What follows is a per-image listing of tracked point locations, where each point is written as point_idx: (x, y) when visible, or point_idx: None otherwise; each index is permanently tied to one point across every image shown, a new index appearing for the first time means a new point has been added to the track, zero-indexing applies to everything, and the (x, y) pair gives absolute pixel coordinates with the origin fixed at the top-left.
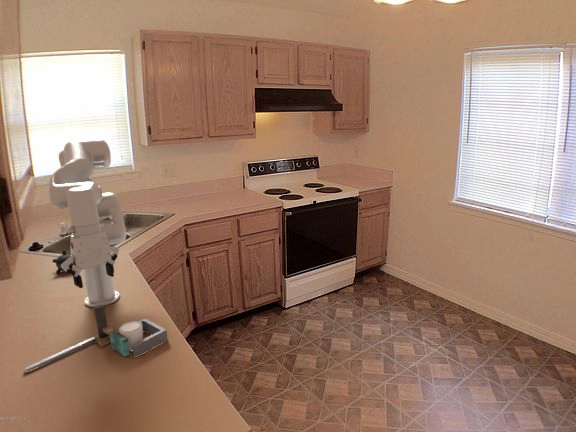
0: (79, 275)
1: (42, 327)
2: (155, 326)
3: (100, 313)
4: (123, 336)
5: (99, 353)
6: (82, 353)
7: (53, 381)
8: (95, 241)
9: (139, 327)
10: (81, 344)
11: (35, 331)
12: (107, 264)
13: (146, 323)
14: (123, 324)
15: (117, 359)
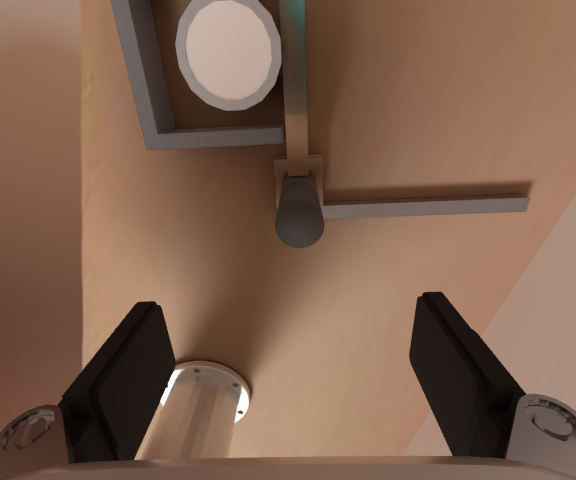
0: (494, 401)
1: (371, 372)
2: (132, 38)
3: (306, 196)
4: (282, 17)
5: (343, 122)
6: (375, 169)
7: (512, 81)
8: None
9: (200, 1)
10: (362, 204)
11: (390, 367)
12: (111, 444)
13: (155, 111)
14: (244, 104)
15: (323, 25)
